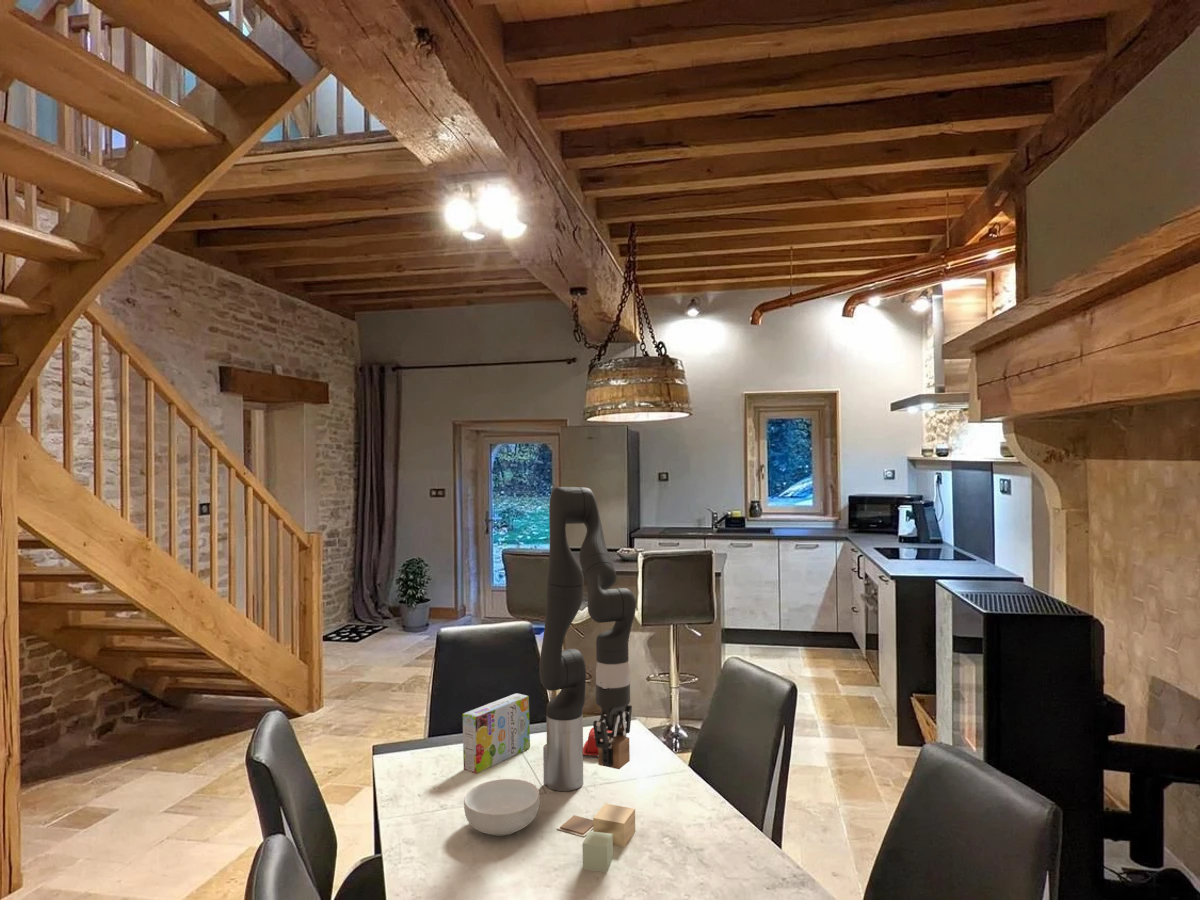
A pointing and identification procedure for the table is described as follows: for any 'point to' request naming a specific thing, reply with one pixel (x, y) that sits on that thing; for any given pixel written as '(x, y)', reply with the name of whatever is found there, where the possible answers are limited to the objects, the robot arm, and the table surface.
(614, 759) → the walnut cube
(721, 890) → the table surface
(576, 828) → the walnut swatch
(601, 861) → the sage cube
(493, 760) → the snack box
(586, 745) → the butter dish
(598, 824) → the oak base block
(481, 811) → the cereal bowl
